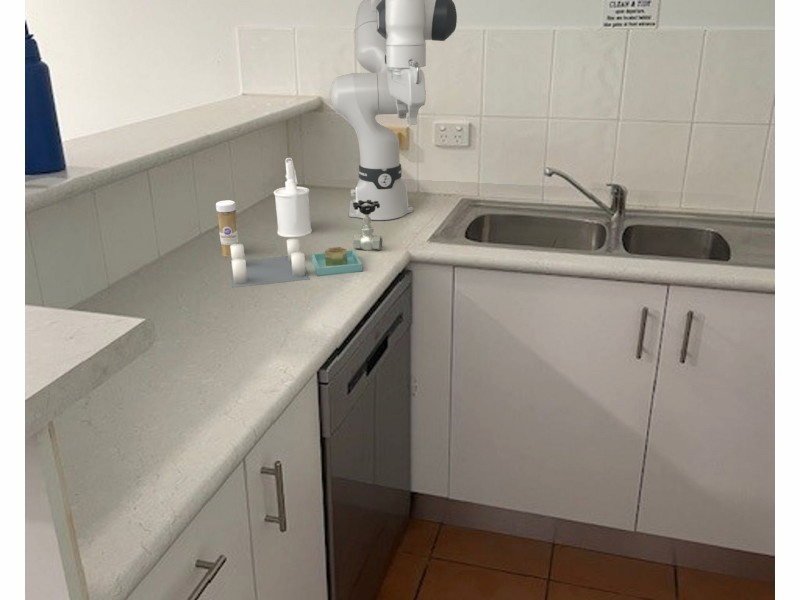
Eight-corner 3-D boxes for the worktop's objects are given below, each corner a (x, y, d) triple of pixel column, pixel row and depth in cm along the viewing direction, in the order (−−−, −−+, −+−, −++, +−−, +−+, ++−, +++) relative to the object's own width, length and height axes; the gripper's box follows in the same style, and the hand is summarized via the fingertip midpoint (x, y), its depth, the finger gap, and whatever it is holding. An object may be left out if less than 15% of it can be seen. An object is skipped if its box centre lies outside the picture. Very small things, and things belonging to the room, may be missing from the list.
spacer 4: (291, 273, 164) (290, 252, 162) (305, 271, 165) (303, 251, 163) (293, 277, 162) (291, 256, 160) (306, 276, 162) (305, 255, 160)
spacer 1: (232, 264, 170) (230, 244, 169) (245, 263, 171) (243, 243, 169) (232, 268, 168) (230, 248, 166) (245, 267, 168) (243, 246, 166)
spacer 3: (287, 258, 173) (285, 238, 171) (300, 257, 174) (298, 237, 172) (288, 262, 171) (287, 242, 169) (301, 261, 171) (300, 241, 169)
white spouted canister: (275, 229, 196) (268, 156, 188) (309, 226, 198) (303, 153, 190) (280, 241, 187) (273, 164, 179) (315, 237, 189) (310, 161, 181)
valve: (378, 255, 175) (376, 207, 171) (351, 254, 177) (349, 206, 172) (384, 246, 181) (382, 200, 177) (358, 245, 183) (356, 199, 178)
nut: (324, 263, 169) (323, 248, 168) (345, 260, 170) (344, 246, 169) (327, 269, 165) (326, 254, 164) (348, 267, 166) (348, 252, 165)
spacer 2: (233, 279, 161) (231, 258, 159) (247, 278, 162) (245, 257, 160) (234, 284, 158) (231, 263, 156) (248, 283, 159) (245, 262, 157)
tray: (312, 262, 171) (311, 254, 171) (354, 258, 174) (353, 249, 173) (317, 277, 162) (317, 268, 161) (362, 272, 164) (361, 264, 164)
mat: (230, 262, 172) (230, 261, 172) (301, 255, 176) (301, 254, 176) (232, 288, 157) (232, 287, 157) (310, 280, 161) (310, 279, 161)
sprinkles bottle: (223, 259, 175) (216, 205, 169) (221, 253, 179) (214, 200, 173) (242, 257, 176) (236, 203, 171) (239, 251, 180) (233, 198, 175)
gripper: (432, 61, 153) (432, 127, 158) (408, 54, 171) (409, 114, 177) (403, 62, 152) (404, 129, 157) (382, 55, 170) (384, 115, 175)
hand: (407, 121), depth 167 cm, fingers open, 8 cm apart
